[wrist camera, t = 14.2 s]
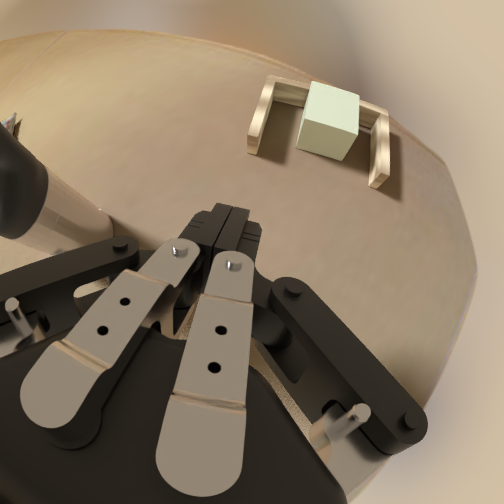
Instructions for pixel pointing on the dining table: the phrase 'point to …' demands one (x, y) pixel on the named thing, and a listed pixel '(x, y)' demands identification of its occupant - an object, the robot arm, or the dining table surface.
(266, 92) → the birch corral
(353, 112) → the sage block
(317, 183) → the dining table surface
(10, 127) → the packaged food
